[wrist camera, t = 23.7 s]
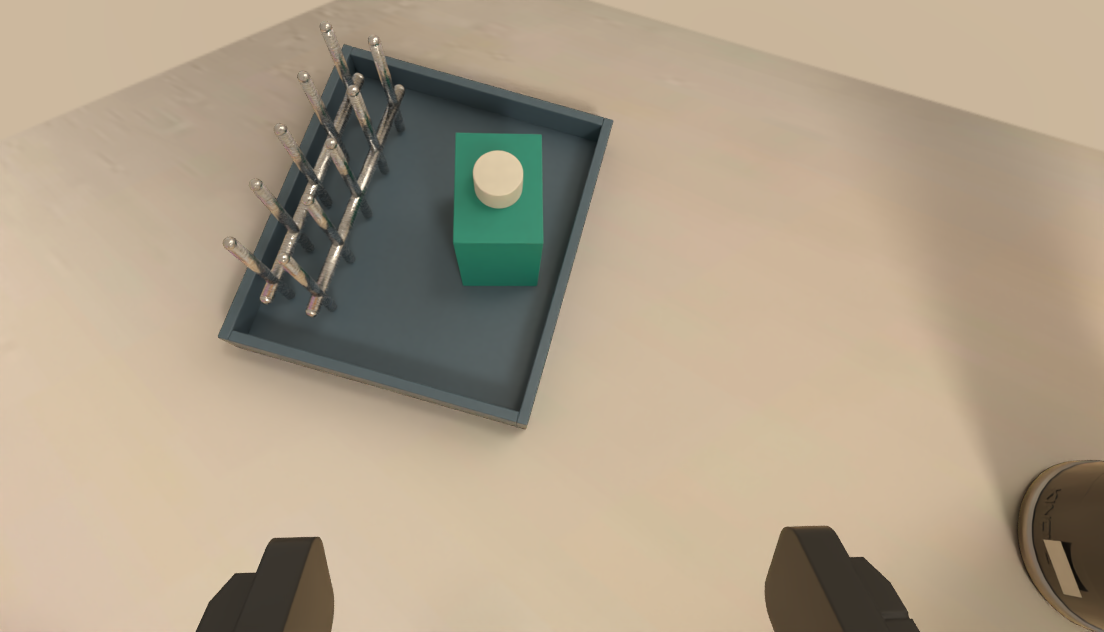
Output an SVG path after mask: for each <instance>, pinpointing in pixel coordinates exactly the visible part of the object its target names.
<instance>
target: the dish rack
mask: <svg viewBox="0 0 1104 632" xmlns="http://www.w3.org/2000/svg"><path fill="white" fill-rule="evenodd" d="M320 30H321V32H322V35H323V37H324V40H325V42H326V44H327V47H328V49H329V52H330V54H331V56H332V59H333V61H334V64H335V66H336V68H337V71H338V73H339V76H340V78H341V80H342V83H343V85H344V88H345V90H346V93H345V95H344V98H343V100H342V102H341V105H340V107H339V110H338V112H337V114H336V117H335V119H334V121H333V122H332V119H331V117H330V115H329V113H328V111H327V109H326V107H325V105H324V103H323V101H322V99H321V97H320V95H319V93H318V91H317V89H316V87H315V85H314V83H313V81H312V79H311V77H310V75H309V73H308V72H306V71H301V72H299V73H298V75H297V78H298V81H299V82H300V84H301V86H302V88H303V90H304V92H305V94H306V96H307V98H308V100H309V101H310V103H311V105H312V107H313V109H314V111H315V113H316V115H317V117H318V119H319V121H320V122H321V124H322V126H323V128H324V130H325V132H326V134H327V138H326V141H325V143H324V145H323V148H322V150H321V152H320V155H319V157H318V160H317V162H316V164H315V167H314V169H312V167H311V165H310V164H309V162H308V161H307V159H306V157H305V156H304V154H303V153H302V151H301V149H300V148H299V146H298V145H297V143H296V141H295V140H294V138H293V137H292V135H291V133H290V132H289V130H288V129H287V127H286V126H285V125H284V124H281V123H278V124H276V125H275V126H274V132H275V134H276V135H277V137H278V138H279V140H280V141H281V143H282V144H283V146H284V147H285V149H286V150H287V152H288V153H289V155H290V156H291V158H292V159H293V161H294V162H295V164H296V165H297V167H298V168H299V170H300V171H301V172H302V174H303V175H304V177H305V178H306V180H307V181H308V183H307V186H306V188H305V191H304V193H303V195H302V197H301V200H300V202H299V205H298V207H297V210H296V212H295V214H294V217H293V219H292V218H291V216H290V215H289V214H288V213H287V212H286V210H285V209H284V208H283V207H282V205H281V204H280V203H279V202H278V201H277V199H276V198H275V197H274V196H273V195H272V193H271V192H270V191H269V190H268V188H267V187H266V186H265V185H264V184H263V182H262V181H261V180H259V179H252V180H251V181H250V182H249V187H250V189H251V190H252V191H253V192H254V193H255V194H256V196H257V197H258V198H259V199H260V200H261V201H262V202H263V204H264V205H265V206H266V207H267V208H268V209H269V210H270V211H271V213H272V214H273V215H274V216H275V217H276V218H277V219H278V221H279V222H280V223H281V224H282V225H283V226H284V227H285V228H286V230H287V233H286V236H285V238H284V240H283V243H282V245H281V248H280V250H279V252H278V255H277V257H276V260H275V262H274V264H273V267H272V269H271V270H270V269H269V268H268V267H267V266H265V265H264V264H263V263H262V262H261V261H260V260H259V259H258V258H256V257H255V256H254V255H253V254H252V253H251V252H250V251H249V250H247V249H246V248H245V247H244V246H243V245H242V244H241V243H239V242H238V241H237V240H236V239H235V238H233V237H227V238H225V239H224V240H223V246H224V247H225V248H226V249H227V250H228V251H229V252H230V253H232V254H233V255H234V256H235V257H236V258H238V259H239V260H240V261H241V262H243V263H244V264H245V265H246V266H247V267H249V268H250V269H251V270H252V271H254V272H255V273H256V274H257V275H258V276H260V277H261V278H262V279H263V280H264V281H266V283H265V286H264V288H263V290H262V293H261V295H260V301H261V302H262V303H263V304H265V305H269V304H271V303H273V301H274V299H275V297H276V294H277V292H279V293H280V294H282V295H283V296H284V297H285V298H286V299H289V300H291V299H294V298H295V295H296V294H295V291H294V290H292V289H291V288H290V287H289V286H288V285H287V284H286V283H285V282H283V281H282V280H283V277H284V275H285V272H286V271H287V272H288V273H289V274H290V275H291V276H293V277H294V278H295V279H296V280H297V281H298V282H299V283H300V284H301V285H302V286H303V287H304V288H305V289H306V290H307V291H308V292H309V293H310V294H311V297H310V299H309V302H308V304H307V307H306V310H305V313H306V315H307V316H308V317H310V318H314V317H317V316H318V314H319V312H320V310H321V307H322V305H323V306H324V307H325V308H326V309H327V310H328V311H331V312H333V311H335V310H336V309H337V304H336V302H335V301H334V300H333V299H332V298H331V297H330V296H329V295H328V294H327V292H328V289H329V286H330V284H331V281H332V279H333V276H334V274H335V271H336V269H337V266H338V263H339V261H340V258H341V256H342V257H343V259H344V260H345V261H346V263H348V264H353V263H354V262H355V260H356V258H355V256H354V254H353V253H352V252H351V250H350V249H349V247H348V246H347V244H346V243H347V240H348V238H349V235H350V233H351V230H352V228H353V225H354V222H355V220H356V217H357V215H358V212H359V210H360V211H361V213H362V215H363V216H364V217H365V218H367V219H369V218H371V217H372V216H373V212H372V210H371V208H370V206H369V204H368V202H367V200H366V198H365V194H366V192H367V189H368V187H369V184H370V181H371V179H372V176H373V174H374V171H375V169H376V166H378V168H379V171H380V173H381V174H383V175H387V174H388V173H389V171H390V169H389V166H388V164H387V161H386V158H385V156H384V153H383V148H384V146H385V143H386V141H387V138H388V135H389V133H390V130H391V128H392V125H393V123H394V125H395V128H396V130H397V132H399V133H403V132H404V131H405V129H406V127H405V124H404V120H403V117H402V113H401V110H400V105H401V102H402V100H403V97H404V94H405V88H404V86H403V85H401V84H397V85H395V86H393V82H392V79H391V76H390V72H389V69H388V65H387V62H386V58H385V55H384V52H383V48H382V45H381V41H380V38H379V37H378V36H376V35H371V36H369V38H368V43H369V46H370V50H371V53H372V56H373V59H374V62H375V65H376V68H377V71H378V75H379V78H380V81H381V84H382V87H383V90H384V93H385V96H386V100H387V105H386V108H385V111H384V113H383V116H382V118H381V121H380V123H379V126H378V128H377V131H376V132H375V130H374V127H373V124H372V122H371V119H370V116H369V114H368V111H367V109H366V106H365V103H364V101H363V98H362V95H361V93H360V91H361V88H362V86H363V84H364V81H365V79H364V76H363V75H362V74H361V73H355V74H354V75H353V76H351V74H350V71H349V69H348V66H347V63H346V61H345V58H344V56H343V53H342V51H341V48H340V45H339V43H338V40H337V38H336V35H335V32H334V30H333V27H332V25H331V24H330V23H329V22H327V21H323V22H322V23H321V24H320ZM353 109H354V112H355V114H356V116H357V119H358V120H359V123H360V125H361V127H362V130H363V132H364V135H365V137H366V139H367V142H368V144H369V147H370V148H369V151H368V153H367V156H366V158H365V161H364V163H363V166H362V168H361V171H360V173H359V176H358V178H357V180H356V178H355V176H354V174H353V172H352V170H351V168H350V166H349V164H348V163H349V162H350V156H349V154H348V152H347V150H346V148H345V146H344V144H343V142H342V140H341V137H342V134H343V132H344V130H345V127H346V125H347V122H348V120H349V117H350V115H351V113H352V110H353ZM332 160H333V162H334V163H335V165H336V167H337V169H338V171H339V173H340V174H341V176H342V178H343V180H344V182H345V184H346V185H347V187H348V189H349V191H350V193H351V196H350V199H349V201H348V204H347V206H346V209H345V211H344V214H343V216H342V219H341V221H340V224H339V226H338V229H337V230H336V228H335V227H334V225H333V224H332V222H331V221H330V219H329V218H328V217H327V215H326V214H325V212H324V211H323V209H322V208H321V206H320V205H319V203H318V202H317V200H316V197H317V196H318V198H319V199H320V201H321V202H322V204H323V205H324V206H325V207H330V206H332V204H333V201H332V199H331V197H330V196H329V194H328V192H327V191H326V189H325V188H324V186H323V184H322V183H323V180H324V178H325V176H326V173H327V171H328V168H329V166H330V163H331V161H332ZM309 214H311V216H312V217H313V218H314V220H315V221H316V222H317V224H318V225H319V226H320V228H321V229H322V230H323V232H324V233H325V234H326V236H327V237H328V239H329V240H330V241H331V243H332V244H331V246H330V249H329V251H328V254H327V256H326V259H325V262H324V264H323V267H322V269H321V272H320V274H319V277H318V279H317V282H315V281H314V280H313V279H312V278H311V277H310V276H309V274H308V273H307V272H306V271H305V270H304V269H303V268H302V267H301V266H300V265H299V264H298V263H297V262H296V261H295V260H294V259H293V258H292V255H293V253H294V251H295V248H296V246H297V243H299V244H300V245H301V247H302V248H303V249H304V250H305V251H306V252H312V251H313V250H314V248H315V247H314V244H313V243H312V242H311V241H310V239H309V238H308V237H307V236H306V235H305V233H304V232H303V229H304V226H305V224H306V222H307V219H308V217H309Z"/></svg>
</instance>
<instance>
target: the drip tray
mask: <svg viewBox="0 0 1104 632" xmlns="http://www.w3.org/2000/svg"><path fill="white" fill-rule="evenodd" d="M341 51H342V53H343V56H344V58H345V61H346V63H347V66H348V69H349V71H350V74H351V76H353V75H354V74H355V73H361V74H362V75H363V76H364V79H365V81H364V84H363V86H362V88H361V91H360V93H361V95H362V98H363V101H364V103H365V106H366V109H367V111H368V114H369V116H370V119H371V122H372V124H373V127H374V130H375V132H376V131H377V128H378V126H379V123H380V121H381V118H382V116H383V113H384V111H385V108H386V105H387V100H386V96H385V93H384V90H383V87H382V84H381V81H380V78H379V75H378V71H377V68H376V65H375V62H374V59H373V56H372V53H371V52H370V51H366V50H363V49H359V48H356V47H352V46H349V45H345V44H344V45H343V47H342V50H341ZM385 58H386V62H387V65H388V69H389V72H390V76H391V79H392V82H393V86H395V85H397V84H401V85H403V86H404V88H405V94H404V97H403V100H402V102H401V105H400V110H401V113H402V117H403V120H404V124H405V127H406V129H405V131H404V132H403V133H399V132H397V130H396V128H395V125H394V123H393V125H392V128H391V130H390V133H389V135H388V138H387V141H386V143H385V146H384V148H383V153H384V156H385V158H386V161H387V164H388V166H389V169H390V171H389V173H388V174H387V175H383V174H381V173H380V171H379V168H378V166H376V169H375V171H374V174H373V176H372V179H371V181H370V184H369V187H368V189H367V192H366V194H365V198H366V200H367V202H368V204H369V206H370V208H371V210H372V212H373V216H372V217H371V218H369V219H367V218H365V217H364V216H363V215H362V213H361V211H360V210H359V212H358V215H357V217H356V220H355V222H354V225H353V228H352V230H351V233H350V235H349V238H348V240H347V243H346V244H347V246H348V247H349V249H350V250H351V252H352V253H353V254H354V256H355V258H356V260H355V262H354V263H353V264H348V263H346V261H345V260H344V259H343V257H342V256H341V258H340V261H339V263H338V266H337V269H336V271H335V274H334V276H333V279H332V281H331V284H330V286H329V289H328V292H327V294H328V295H329V296H330V297H331V298H332V299H333V300H334V301H335V302H336V304H337V309H336V310H335V311H333V312H331V311H328V310H327V309H326V308H325V307H324V306H323V305H322V307H321V310H320V312H319V314H318V316H317V317H314V318H310V317H308V316H307V315H306V313H305V310H306V307H307V304H308V302H309V299H310V297H311V294H310V293H309V292H308V291H307V290H306V289H305V288H304V287H303V286H302V285H301V284H300V283H299V282H298V281H297V280H296V279H295V278H294V277H293V276H291V275H290V274H289V273H288V272H287V271H286V272H285V275H284V277H283V280H282V281H283V282H285V283H286V284H287V285H288V286H289V287H290V288H291V289H292V290H294V291H295V294H296V295H295V298H294V299H291V300H289V299H286V298H285V297H284V296H283V295H282V294H280V293H279V292H277V294H276V297H275V299H274V301H273V303H271V304H269V305H265V304H263V303H262V302H261V301H260V295H261V293H262V290H263V288H264V286H265V283H266V281H264V280H263V279H262V278H261V277H260V276H258V275H257V274H256V273H255V272H254V271H252V270H251V269H250V268H249V267H247V270H246V272H245V274H244V277H243V279H242V281H241V284H240V286H239V288H238V291H237V293H236V295H235V298H234V300H233V302H232V305H231V307H230V309H229V312H228V314H227V316H226V318H225V321H224V323H223V325H222V328H221V330H220V332H219V335H218V338H220V339H222V340H224V341H226V342H228V343H230V344H232V345H234V346H236V347H239V348H242V349H246V350H249V351H253V352H256V353H260V354H263V355H267V356H270V357H274V358H277V359H281V360H284V361H288V362H291V363H295V364H298V365H302V366H305V367H309V368H312V369H316V370H319V371H323V372H326V373H330V374H333V375H337V376H340V377H344V378H347V379H351V380H354V381H358V382H361V383H365V384H368V385H372V386H375V387H379V388H382V389H386V390H389V391H393V392H396V393H400V394H403V395H407V396H410V397H414V398H417V399H421V400H424V401H428V402H431V403H435V404H438V405H442V406H445V407H449V408H452V409H456V410H459V411H463V412H466V413H470V414H473V415H477V416H480V417H484V418H487V419H491V420H494V421H498V422H502V423H505V424H509V425H512V426H516V427H519V428H523V429H526V428H527V425H528V421H529V418H530V414H531V411H532V407H533V404H534V400H535V396H536V393H537V389H538V386H539V382H540V379H541V375H542V372H543V368H544V365H545V361H546V358H547V354H548V351H549V347H550V343H551V340H552V336H553V333H554V329H555V326H556V322H557V319H558V315H559V312H560V308H561V305H562V301H563V297H564V294H565V290H566V287H567V283H568V280H569V276H570V273H571V269H572V266H573V262H574V259H575V255H576V252H577V248H578V244H579V241H580V237H581V234H582V230H583V227H584V223H585V220H586V216H587V213H588V209H589V206H590V202H591V199H592V195H593V191H594V188H595V184H596V181H597V177H598V174H599V170H600V167H601V163H602V160H603V156H604V153H605V149H606V145H607V142H608V138H609V135H610V131H611V128H612V124H613V120H611V119H607V118H603V117H600V116H597V115H593V114H589V113H586V112H582V111H579V110H575V109H572V108H568V107H565V106H561V105H558V104H554V103H550V102H547V101H543V100H540V99H536V98H533V97H529V96H526V95H522V94H519V93H515V92H512V91H508V90H504V89H501V88H497V87H494V86H490V85H487V84H483V83H480V82H476V81H473V80H469V79H465V78H462V77H458V76H455V75H451V74H448V73H444V72H441V71H437V70H434V69H430V68H426V67H423V66H419V65H416V64H412V63H409V62H405V61H402V60H398V59H395V58H391V57H388V56H385ZM345 93H346V90H345V88H344V85H343V83H342V80H341V78H340V76H339V73H338V71H337V68H336V66H334V68H333V70H332V73H331V75H330V77H329V80H328V82H327V84H326V87H325V89H324V91H323V94H322V96H321V99H322V101H323V103H324V105H325V107H326V109H327V111H328V113H329V115H330V117H331V119H332V122H333V121H334V119H335V117H336V114H337V112H338V110H339V107H340V105H341V102H342V100H343V98H344V95H345ZM456 133H497V134H541V135H542V182H543V249H542V256H541V263H540V270H539V277H538V283H537V286H463V283H462V279H461V275H460V271H459V266H458V262H457V258H456V253H455V249H454V245H453V216H454V174H455V134H456ZM326 138H327V134H326V132H325V130H324V128H323V126H322V124H321V122H320V121H319V119H318V117H317V115H316V113H315V112H314V115H313V117H312V119H311V121H310V124H309V126H308V128H307V131H306V133H305V135H304V138H303V140H302V142H301V145H300V147H299V148H300V149H301V151H302V153H303V154H304V156H305V157H306V159H307V161H308V162H309V164H310V165H311V167H312V169H314V167H315V164H316V162H317V160H318V157H319V155H320V152H321V150H322V148H323V145H324V143H325V141H326ZM341 140H342V142H343V144H344V146H345V148H346V150H347V152H348V154H349V156H350V162H349V163H348V164H349V166H350V168H351V170H352V172H353V174H354V176H355V178H356V180H357V178H358V176H359V173H360V171H361V168H362V166H363V163H364V161H365V158H366V156H367V153H368V151H369V148H370V147H369V144H368V142H367V139H366V137H365V135H364V132H363V130H362V127H361V125H360V123H359V120H358V119H357V116H356V114H355V112H354V109H353V110H352V113H351V115H350V117H349V120H348V122H347V125H346V127H345V130H344V132H343V134H342V137H341ZM307 183H308V181H307V180H306V178H305V177H304V175H303V174H302V172H301V171H300V170H299V168H298V167H297V165H296V164H295V162H294V161H293V163H292V165H291V168H290V170H289V172H288V175H287V177H286V179H285V182H284V184H283V186H282V189H281V191H280V193H279V196H278V198H277V201H278V202H279V203H280V204H281V205H282V207H283V208H284V209H285V210H286V212H287V213H288V214H289V215H290V216H291V218H292V219H293V217H294V214H295V212H296V210H297V207H298V205H299V202H300V200H301V197H302V195H303V193H304V191H305V188H306V186H307ZM322 184H323V186H324V188H325V189H326V191H327V192H328V194H329V196H330V197H331V199H332V201H333V204H332V206H330V207H325V206H324V205H323V204H322V202H321V201H320V199H319V198H318V196H317V197H316V200H317V202H318V203H319V205H320V206H321V208H322V209H323V211H324V212H325V214H326V215H327V217H328V218H329V219H330V221H331V222H332V224H333V225H334V227H335V228H336V230H337V229H338V226H339V224H340V221H341V219H342V216H343V214H344V211H345V209H346V206H347V204H348V201H349V199H350V196H351V193H350V191H349V189H348V187H347V185H346V184H345V182H344V180H343V178H342V176H341V174H340V173H339V171H338V169H337V167H336V165H335V163H334V162H333V160H332V161H331V163H330V166H329V168H328V171H327V173H326V176H325V178H324V180H323V183H322ZM303 232H304V233H305V235H306V236H307V237H308V238H309V239H310V241H311V242H312V243H313V244H314V247H315V248H314V250H313V251H312V252H306V251H305V250H304V249H303V248H302V247H301V245H300V244H299V243H297V246H296V248H295V251H294V253H293V255H292V258H293V259H294V260H295V261H296V262H297V263H298V264H299V265H300V266H301V267H302V268H303V269H304V270H305V271H306V272H307V273H308V274H309V276H310V277H311V278H312V279H313V280H314V281H315V282H317V279H318V277H319V274H320V272H321V269H322V267H323V264H324V262H325V259H326V256H327V254H328V251H329V249H330V246H331V244H332V243H331V241H330V240H329V239H328V237H327V236H326V234H325V233H324V232H323V230H322V229H321V228H320V226H319V225H318V224H317V222H316V221H315V220H314V218H313V217H312V216H311V214H309V217H308V219H307V222H306V224H305V226H304V229H303ZM286 233H287V230H286V228H285V227H284V226H283V225H282V224H281V223H280V222H279V221H278V219H277V218H276V217H275V216H274V215H273V214H272V213H271V214H270V216H269V219H268V221H267V223H266V226H265V228H264V230H263V233H262V235H261V237H260V240H259V242H258V244H257V247H256V249H255V251H254V254H253V255H254V256H255V257H256V258H258V259H259V260H260V261H261V262H262V263H263V264H264V265H265V266H267V267H268V268H269V269H270V270H271V269H272V267H273V264H274V262H275V260H276V257H277V255H278V252H279V250H280V248H281V245H282V243H283V240H284V238H285V236H286Z"/></svg>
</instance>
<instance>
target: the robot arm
mask: <svg viewBox="0 0 1104 632" xmlns="http://www.w3.org/2000/svg"><path fill="white" fill-rule="evenodd" d="M1018 540H1019V546H1020V550H1021V555H1022V558H1023V561H1024V564H1025V566H1026V569H1027V571H1028V573H1029V575H1030V577H1031V579H1032V581H1033V582H1034V584H1035V586H1036V587H1037V589H1038V590H1039V591H1040V593H1041V594H1042V595H1043V597H1044V598H1045V599H1046V600H1047V601H1048V602H1049V603H1050V604H1051V605H1052V606H1053V607H1054V608H1055V609H1056V610H1057V611H1058V612H1059V613H1061V614H1062V615H1063V616H1065V617H1066V618H1067V619H1069V620H1070V621H1072V622H1074V623H1076V624H1077V625H1080V626H1082V627H1084V628H1086V629H1089V630H1092V631H1096V632H1104V461H1099V460H1082V461H1069V462H1064V463H1061V464H1057V465H1055V466H1053V467H1051V468H1049V469H1047V470H1046V471H1044V472H1043V473H1042V474H1040V475H1039V476H1038V477H1037V478H1036V479H1035V480H1034V481H1033V483H1032V484H1031V485H1030V487H1029V488H1028V490H1027V492H1026V494H1025V496H1024V498H1023V501H1022V504H1021V507H1020V511H1019V518H1018ZM765 602H766V608H767V612H768V615H769V618H770V621H771V624H772V626H773V629H774V631H775V632H920V631H919V629H918V628H917V626H916V624H915V623H914V621H913V619H910V618H909V616H908V611H907V609H906V608H905V606H904V604H903V603H902V601H901V599H900V598H899V596H898V595H897V593H896V591H895V590H894V588H893V586H892V585H891V583H890V582H889V581H888V580H887V579H886V578H885V577H884V576H883V575H882V574H881V573H880V572H879V571H878V570H876V569H875V568H874V567H873V566H872V565H871V564H870V563H869V562H868V561H867V560H866V559H865V558H864V557H849V555H848V554H847V552H846V550H845V548H844V546H843V545H842V543H841V541H840V539H839V537H838V536H837V534H836V533H835V531H834V530H833V529H832V528H830V527H828V526H797V527H785V528H783V530H782V531H781V533H780V536H779V540H778V543H777V546H776V549H775V552H774V555H773V559H772V562H771V565H770V568H769V571H768V575H767V578H766V582H765ZM333 615H334V594H333V588H332V584H331V579H330V575H329V570H328V566H327V561H326V557H325V552H324V547H323V543H322V540H321V539H320V537H293V538H273V539H272V540H271V541H270V542H269V543H268V545H267V547H266V549H265V552H264V554H263V557H262V559H261V562H260V564H259V567H258V569H257V572H256V573H235V574H234V575H233V576H232V578H231V579H230V580H229V581H228V582H227V583H226V584H225V585H224V586H223V587H222V589H221V590H220V591H219V592H218V593H217V594H216V595H215V596H214V597H213V599H212V600H211V601H210V602H209V604H208V606H207V608H206V610H205V612H204V615H203V617H202V619H201V621H200V623H199V626H198V628H197V630H196V632H331V629H332V623H333Z"/></svg>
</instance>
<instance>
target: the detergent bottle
mask: <svg viewBox="0 0 1104 632" xmlns="http://www.w3.org/2000/svg"><path fill="white" fill-rule="evenodd" d="M453 245H454V249H455V253H456V258H457V262H458V266H459V271H460V275H461V279H462V283H463V286H537V283H538V277H539V270H540V263H541V256H542V249H543V182H542V135H541V134H497V133H456V134H455V174H454V216H453Z"/></svg>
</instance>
